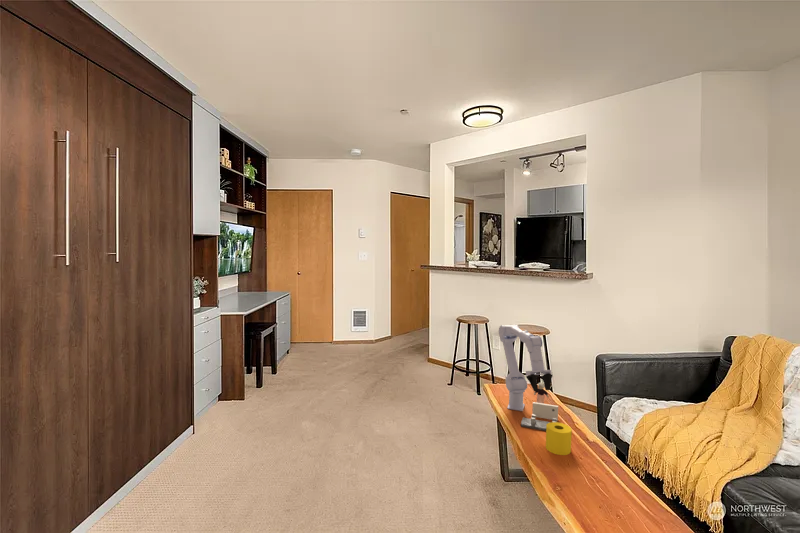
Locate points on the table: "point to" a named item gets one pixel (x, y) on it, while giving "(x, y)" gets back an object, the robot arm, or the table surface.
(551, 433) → the tape roll
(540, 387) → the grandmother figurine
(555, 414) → the cabinet door
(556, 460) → the table surface
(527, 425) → the rail
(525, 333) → the robot arm
